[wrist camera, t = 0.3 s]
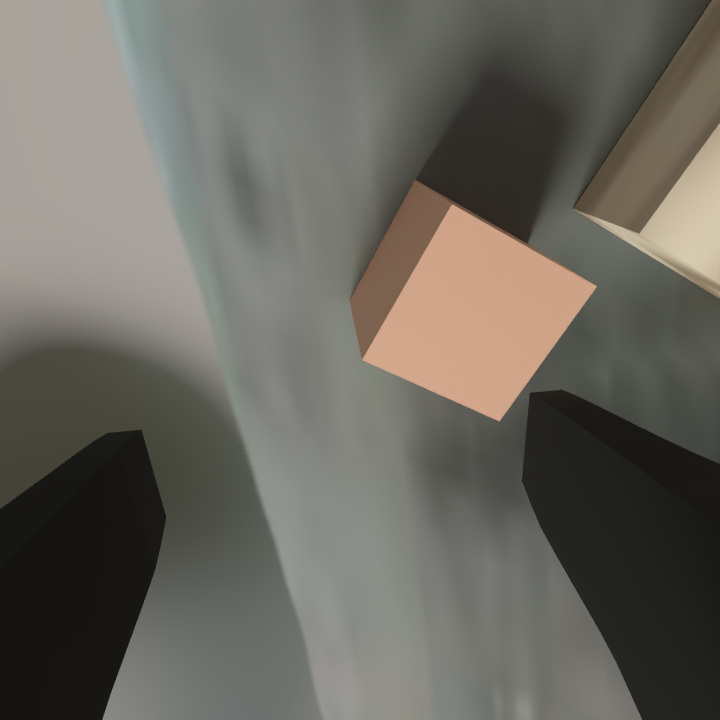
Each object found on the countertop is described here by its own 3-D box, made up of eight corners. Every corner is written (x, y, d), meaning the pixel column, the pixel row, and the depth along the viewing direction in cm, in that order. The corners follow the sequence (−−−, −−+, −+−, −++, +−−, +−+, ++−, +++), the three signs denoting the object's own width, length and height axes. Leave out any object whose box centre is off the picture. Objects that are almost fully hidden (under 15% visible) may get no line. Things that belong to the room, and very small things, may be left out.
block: (526, 243, 18) (596, 286, 14) (456, 351, 20) (499, 421, 15) (414, 179, 17) (451, 204, 13) (349, 299, 19) (361, 360, 14)
